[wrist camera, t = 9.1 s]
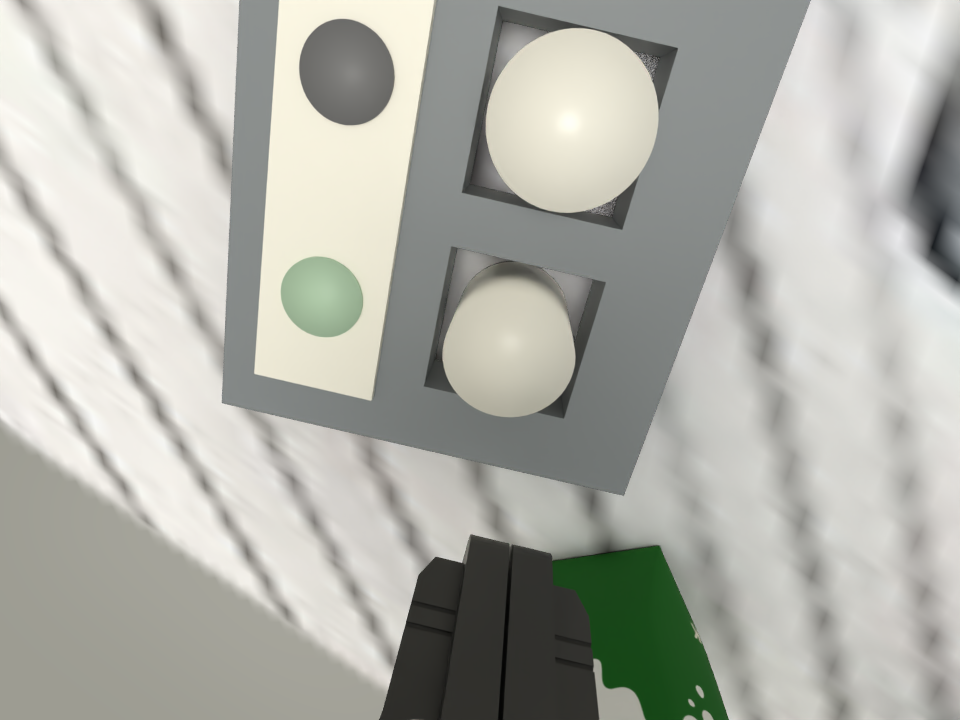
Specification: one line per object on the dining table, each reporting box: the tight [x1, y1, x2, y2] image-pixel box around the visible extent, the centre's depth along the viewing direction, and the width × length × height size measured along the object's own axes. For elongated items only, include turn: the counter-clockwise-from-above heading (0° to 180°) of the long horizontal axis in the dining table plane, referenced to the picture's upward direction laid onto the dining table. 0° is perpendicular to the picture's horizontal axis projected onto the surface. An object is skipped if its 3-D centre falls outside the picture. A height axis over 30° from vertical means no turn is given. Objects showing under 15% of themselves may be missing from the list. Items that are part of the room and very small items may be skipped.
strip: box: [254, 0, 437, 401], centre depth 20 cm, size 5×24×1 cm, turn 168°
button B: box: [486, 28, 659, 213], centre depth 19 cm, size 5×5×5 cm
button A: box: [443, 262, 575, 417], centre depth 23 cm, size 5×5×5 cm
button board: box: [222, 0, 811, 496], centre depth 21 cm, size 18×28×3 cm, turn 168°
